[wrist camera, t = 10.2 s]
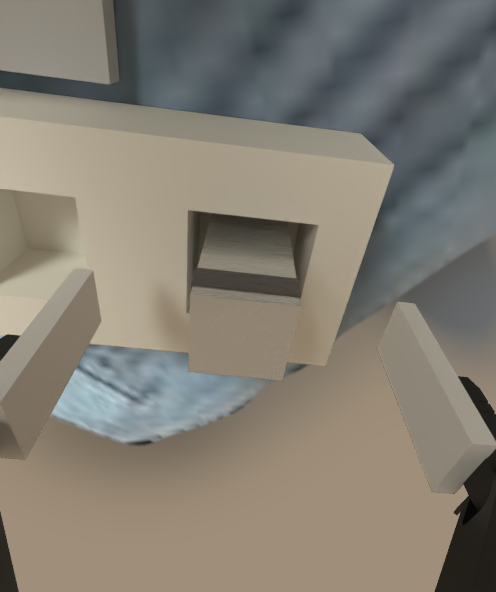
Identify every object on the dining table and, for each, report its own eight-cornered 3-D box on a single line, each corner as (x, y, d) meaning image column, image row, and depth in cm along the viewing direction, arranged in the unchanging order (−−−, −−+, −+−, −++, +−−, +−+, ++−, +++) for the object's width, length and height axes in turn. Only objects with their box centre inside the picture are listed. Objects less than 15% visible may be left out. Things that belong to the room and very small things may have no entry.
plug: (212, 255, 23) (187, 372, 15) (216, 194, 21) (188, 293, 13) (275, 262, 24) (283, 381, 15) (285, 202, 21) (302, 305, 13)
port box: (10, 278, 26) (-47, 334, 21) (-54, 80, 19) (-163, 96, 14) (312, 309, 27) (324, 369, 22) (360, 133, 20) (394, 165, 15)
